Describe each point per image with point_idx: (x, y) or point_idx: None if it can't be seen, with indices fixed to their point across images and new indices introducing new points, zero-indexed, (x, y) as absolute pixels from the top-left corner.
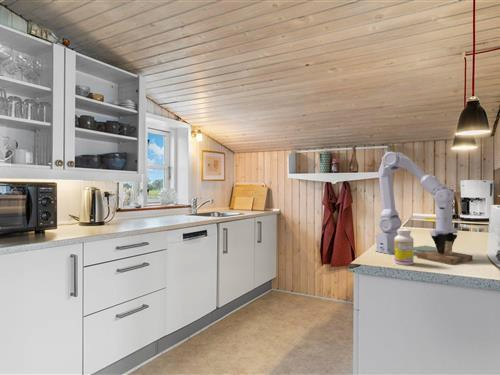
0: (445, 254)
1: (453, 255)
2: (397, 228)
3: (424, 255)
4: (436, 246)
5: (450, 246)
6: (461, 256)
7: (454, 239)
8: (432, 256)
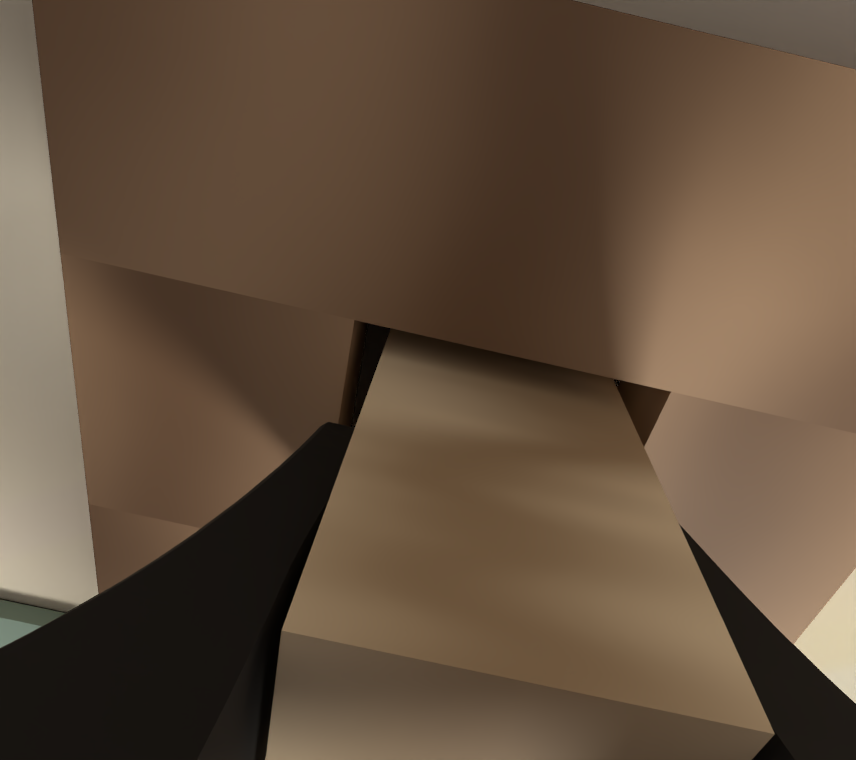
0: (626, 432)
1: (498, 288)
2: None
3: None
4: None
5: (427, 510)
6: (496, 69)
7: (18, 694)
8: (844, 563)
